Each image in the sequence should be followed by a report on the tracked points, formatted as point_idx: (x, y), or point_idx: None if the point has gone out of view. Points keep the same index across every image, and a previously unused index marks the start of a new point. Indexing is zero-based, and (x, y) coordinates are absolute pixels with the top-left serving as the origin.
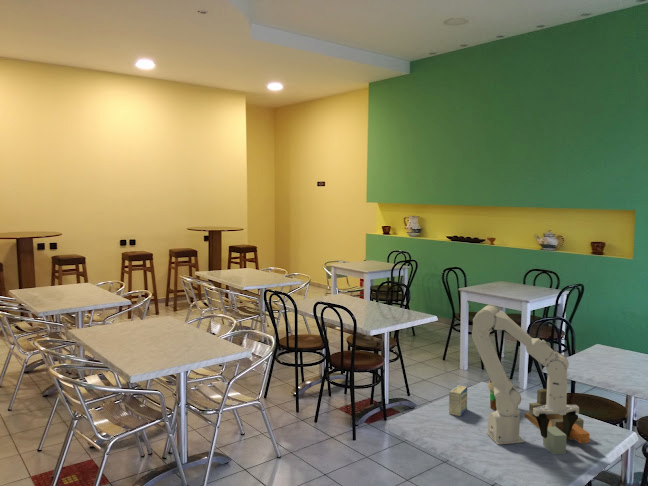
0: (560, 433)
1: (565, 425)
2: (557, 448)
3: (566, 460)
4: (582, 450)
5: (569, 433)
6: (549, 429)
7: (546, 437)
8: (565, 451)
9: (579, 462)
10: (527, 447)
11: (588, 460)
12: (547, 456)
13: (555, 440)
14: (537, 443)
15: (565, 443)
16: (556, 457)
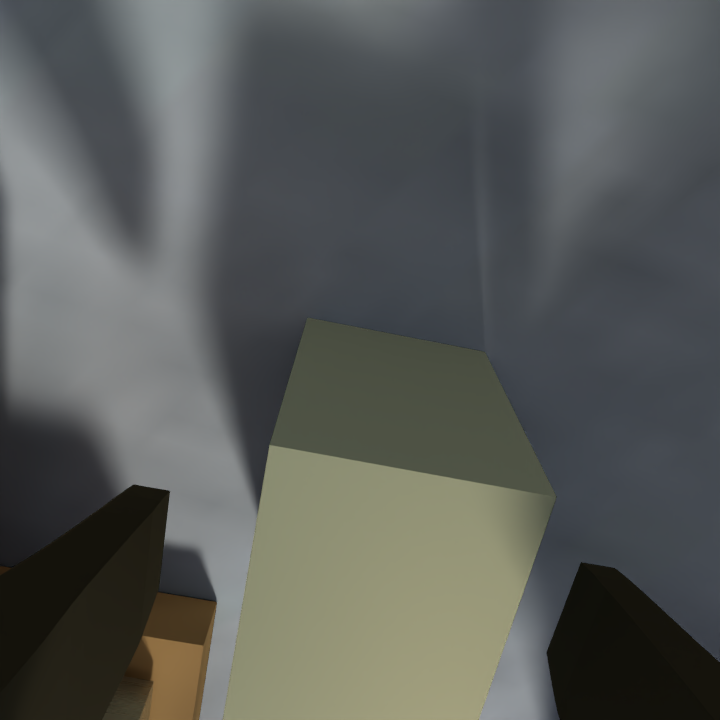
0: (343, 537)
1: (85, 696)
2: (442, 373)
3: (454, 155)
4: (16, 300)
5: (114, 506)
6: (422, 714)
7: (587, 567)
8: (309, 327)
9: (313, 32)
10: (651, 584)
11: (129, 30)
12: (612, 337)
13: (510, 443)
14: None
15: (305, 374)
16: (519, 274)
